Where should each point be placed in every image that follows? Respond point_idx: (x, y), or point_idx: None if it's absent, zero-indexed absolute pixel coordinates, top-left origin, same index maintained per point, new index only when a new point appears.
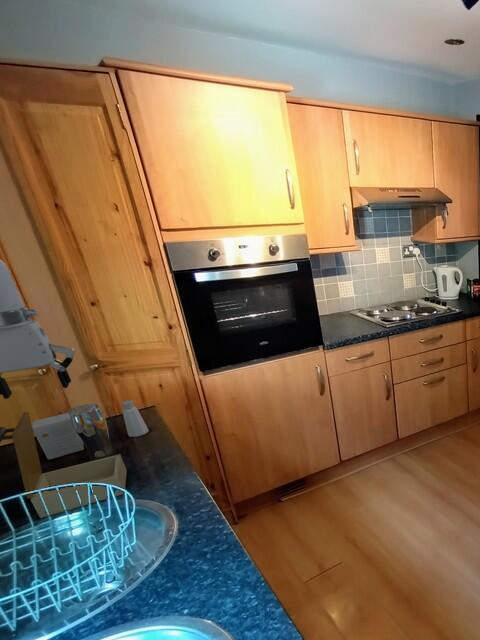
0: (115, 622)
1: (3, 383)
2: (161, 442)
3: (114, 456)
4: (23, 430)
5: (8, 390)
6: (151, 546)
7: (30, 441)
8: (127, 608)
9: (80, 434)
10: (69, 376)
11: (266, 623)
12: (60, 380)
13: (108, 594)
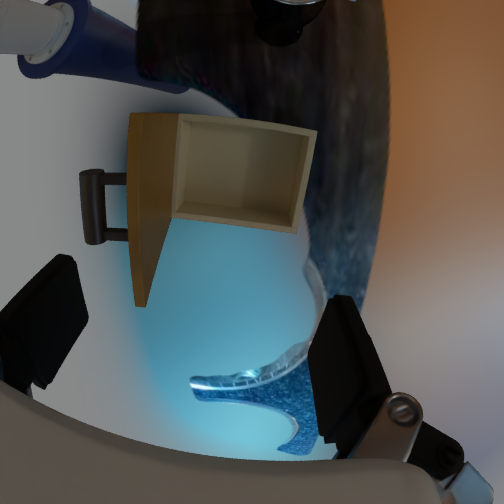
0: (249, 399)
1: (45, 356)
2: (377, 60)
3: (306, 134)
4: (145, 229)
5: (65, 302)
6: (289, 351)
7: (158, 162)
8: (257, 395)
9: (259, 17)
10: (375, 351)
11: (314, 427)
12: (316, 394)
13: (248, 379)
